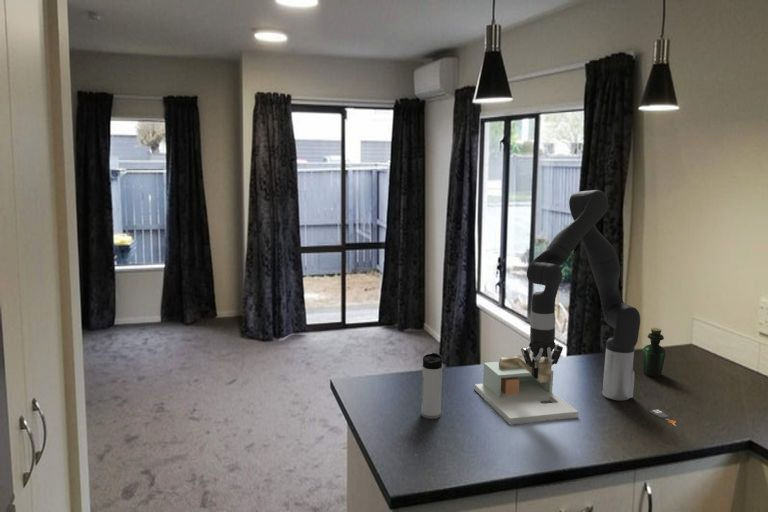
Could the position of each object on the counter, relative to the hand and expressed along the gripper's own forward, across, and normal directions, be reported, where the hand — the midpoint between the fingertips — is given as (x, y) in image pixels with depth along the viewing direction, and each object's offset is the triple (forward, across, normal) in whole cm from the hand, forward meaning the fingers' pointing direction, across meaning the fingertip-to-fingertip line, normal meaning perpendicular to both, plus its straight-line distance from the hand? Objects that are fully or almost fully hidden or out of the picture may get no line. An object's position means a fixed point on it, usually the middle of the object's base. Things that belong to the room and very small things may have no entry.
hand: (541, 377), depth 194 cm
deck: (+14, -1, -13) cm, 19 cm away
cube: (+12, +2, -19) cm, 23 cm away
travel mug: (+13, +33, -10) cm, 37 cm away
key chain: (+16, -40, +9) cm, 44 cm away
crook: (0, +3, -7) cm, 7 cm away
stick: (+4, -2, -21) cm, 21 cm away
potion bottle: (+16, -62, -28) cm, 70 cm away
